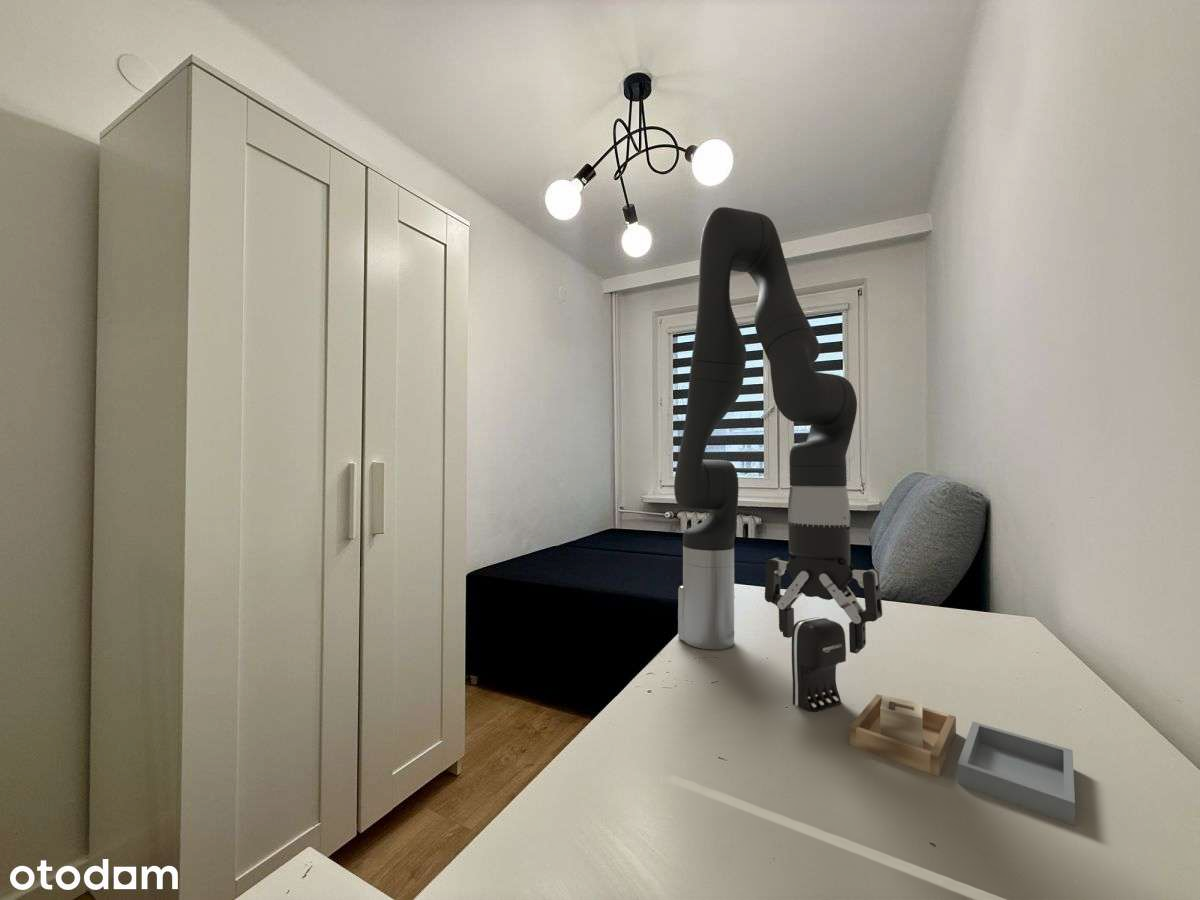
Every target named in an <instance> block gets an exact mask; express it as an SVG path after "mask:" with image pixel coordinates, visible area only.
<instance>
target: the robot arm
mask: <svg viewBox="0 0 1200 900" xmlns="http://www.w3.org/2000/svg"><path fill="white" fill-rule="evenodd" d="M781 243H782V242H781V240H780V236H779V234H778V231H777V228H776V226H775V224H774V222H773V220H772V219H771V218H770V217H768V216H767V215H765V214H762V213H760V212H756V211H750V210H745V209H739V208H733V207H726V206H721V207H717V208H715V209H713V210H712V211H711V213H710V214H709V215H708V217H707V219H706V221H705V223H704V225H703V229H702V233H701V238H700V247H699V266H698V269H699V270H698V272H699V273H698V298H697V300H698V301H697V312H696V323H695V324H696V325H695V333H694V341H693V348H692V354H691V362H690V372H689V380H688V390H687V402H686V410H685V411H686V412H685V413H686V414H685V419H684V426H683V433H682V437H681V441H680V448H679V453H678V458H677V461H676V462H677V463H676V469H675V474H674V485H673V488H674V489H673V491H674V499H675V502H676V503H677V505H678V506H679V507H680V508H681V509H683V510H695V511H696V510H698V511H699V510H709V513H708V516H707V517H706V518H705V519H704V520H703V521H702V522H700V523H698V524H696V525H693V526H691V527H689V528H686V529H685V530H684V532H683V535H682V585H679V587H678V590H677V591H678V593H677V595H678V596H677V597H678V598H677V600H678V601H677V602H678V603H677V606H678V607H677V622H678V623H677V639H678V640H681V641H683V642H684V643H685V644H687V645H689V646H691V647H695V648H699V649H703V650H726V649H729V648H731V647H733V646H734V644H735V538H736V534H737V529H738V527H737V526H738V507H739V506H738V505H739V478H738V477H739V476H738V472H737V469H736V467H735V465H734V464H733V463H732V462H731V461H729V460H725V459H704V456H705V452H706V449H707V445H708V443H709V440H710V439H711V436H712V434H713V433H714V431H715V429H716V428H717V427H718V425H719V423H720V422H721V421H722V420H723V418H725V417H726V415H727V414H728V413H729V412H730V410H731V408H732V407H733V406H734V405H735V403H736V402H737V400H738V399H739V396H740V395H741V392H742V389H743V384H744V379H745V370H746V363H747V348H746V347H747V346H746V343H745V340H744V337H743V333H742V332H741V328H740V327H739V324H738V322H737V320H736V317H735V315H734V311H733V308H732V303H731V296H730V295H731V294H730V293H731V292H730V289H731V288H730V284H731V272H739V273H747V274H748V275H749V276H750V277H751V278H752V280H753V282H754V283H755V284H756V287H757V289H758V298H757V302H756V306H755V311H754V317H753V318H754V328H755V332H756V335H757V337H758V340H759V342H760V344H761V346H762V349H763V351H764V353H765V355H766V357H767V360H768V361H769V366H770V378H771V384H772V386H771V387H772V393H773V400H774V403H775V406H776V407H777V409H778V410H779V412H780V414H781V415H782V416H783V417H784V418H785V419H787V420H789V421H790V422H793V423H797V424H806V425H810V427H809V428H810V429H809V431H808V435H807V439H806V441H803V442H799V443H797V444H795V445H793V446H792V447H791V449H790V451H789V463H788V464H789V492H788V493H789V494H788V501H787V505H788V506H787V509H788V510H787V512H788V515H787V516H788V517H787V519H788V520H787V521H788V526H787V527H788V552H789V553H788V554H789V556H788V557H789V558H788V560H787V561H786V560H782V559H781V558H780V557H774V558H771V559H767V560H766V561H765V562H766V563H765V579H764V581H765V582H764V583H765V585H764V587H765V588H764V600H765V601H766V603H771V604H774V606H776V607H777V609H778V629H779V632H780V633H782V636H783V638H787V639H790V638H792V630H793V627H794V625H795V608H794V607H792V605H794V603H795V602H796V601H797V600H798V599H799V597H801V596H802V595H804V597H807V598H815V597H817V598H819V599H822V600H826V601H830V600H834V601H835V602H836V604H837V605H838V607H839V608H841V609H842V610H843V611H844V612H845V614H846V615H847V617H848V618H849V619H850V622H848V626H849V627H848V628H849V629H848V632H849V637H848V639H849V643H848V644H849V653H852V654H858V653H859V652H861V650H863V649H864V648H865V647H866V644H867V639H866V637H867V633H866V625H867V623H869V622H872V623H873V622H876V621H877V620H878V619H880V618H882V616H883V606H882V605H883V604H882V593H881V583H880V573H879V572H878V570H877V569H875V568H871V569H868V570H864V569H854V568H853V565H852V563H851V526H850V525H851V523H850V521H851V512H850V500H849V494H848V488H847V485H848V484H847V482H848V481H847V459H846V458H847V452H848V448H849V446H850V443H851V439H852V434H853V430H854V425H855V420H856V418H857V410H858V401H857V400H858V399H857V394H856V392H855V389H854V387H853V384H852V383H851V382H850V381H849V379H847V378H846V377H844V376H841V375H840V374H839V375H838V374H834V373H833V374H832V373H826V372H825V373H824V372H819V371H815V369H814V368H813V366H812V365H813V364H814V363H815V362H816V361H817V359H818V358H819V355H820V352H821V346H820V343H819V340H818V338H817V335H816V334H815V332H814V329H813V328H812V326H811V323H810V322H809V320H808V319H807V316H806V315H805V313H804V311H803V309H802V306H801V305H800V303H799V300H798V298H797V295H796V293H795V289H794V286H793V283H792V280H791V276H790V272H789V268H788V264H787V261H786V257H785V255H784V251H783V246H782V244H781ZM785 571H787V573H788V575H789V576H790V578H791V580H792V583H791V584H790V585H789V586H788V587H787V589H786V590H785V592H784V594H781V589H782V587H781V585H782V576H783V575H784V574H785V573H786V572H785ZM854 579H855V580H856V581H857V584H858V586H859V587H860V588H862V589H863V593H864V596H863V597H864V607H865V609H864V608H863V607H862V605H861V604H860V602H859V601H858V600H857V597H856V595H855V593H854V592H853V591H852V590H851V588H850V587H849V585H850V584H851V583H852V581H853V580H854ZM678 635H679V636H678Z"/></svg>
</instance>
